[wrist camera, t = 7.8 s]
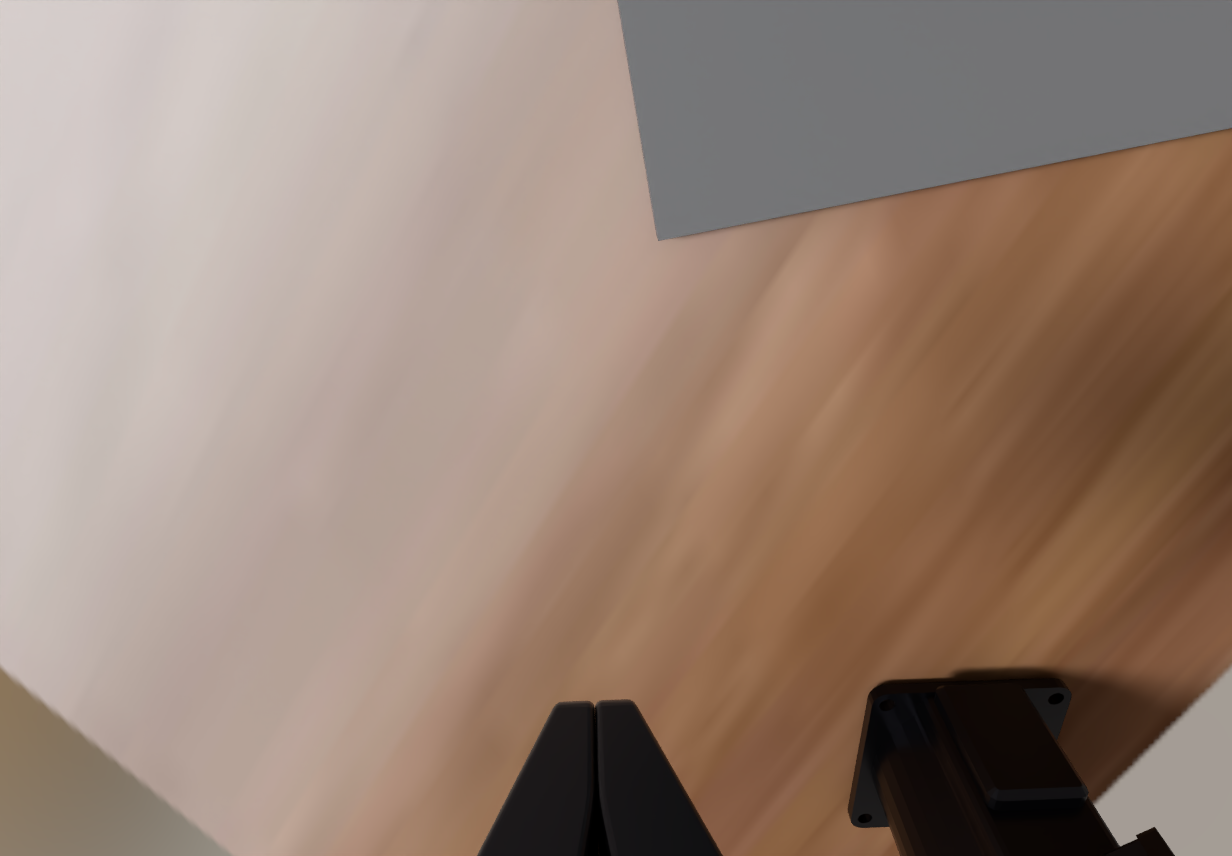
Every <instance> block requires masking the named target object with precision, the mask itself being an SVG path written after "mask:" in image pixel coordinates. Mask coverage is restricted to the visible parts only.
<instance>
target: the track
mask: <svg viewBox="0 0 1232 856" xmlns="http://www.w3.org/2000/svg"><path fill="white" fill-rule="evenodd" d="M618 6H619V12H620V18H621V24H622V30H623V36H624V42H625V48H626V54H627V60H628V66H629V72H630V78H631V84H632V90H633V96H634V102H635V108H636V114H637V120H638V126H639V132H640V138H641V144H642V150H643V156H644V162H645V168H646V174H647V180H648V186H649V192H650V198H651V204H652V210H653V216H654V222H655V228H656V234H657V238H658V241H660V240H665V239H670V238H675V237H680V236H686V235H691V234H696V233H701V232H706V231H711V230H716V229H721V228H726V227H731V226H736V225H741V224H746V223H752V222H757V221H762V220H767V219H772V218H777V217H782V216H787V215H792V214H797V213H802V212H807V211H812V210H818V209H823V208H828V207H833V206H838V205H843V204H848V203H853V202H858V201H863V200H868V199H873V198H878V197H884V196H889V195H894V194H899V193H904V192H909V191H914V190H919V189H924V188H929V187H934V186H939V185H944V184H950V183H955V182H960V181H965V180H970V179H975V178H980V177H985V176H990V175H995V174H1000V173H1005V172H1010V171H1016V170H1021V169H1026V168H1031V167H1036V166H1041V165H1046V164H1051V163H1056V162H1061V161H1066V160H1071V159H1077V158H1082V157H1087V156H1092V155H1097V154H1102V153H1107V152H1112V151H1117V150H1122V149H1127V148H1132V147H1137V146H1143V145H1148V144H1153V143H1158V142H1163V141H1168V140H1173V139H1178V138H1183V137H1188V136H1193V135H1198V134H1203V133H1209V132H1214V131H1219V130H1224V129H1229V128H1232V0H618Z"/></svg>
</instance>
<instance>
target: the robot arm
mask: <svg viewBox="0 0 1232 856" xmlns="http://www.w3.org/2000/svg"><path fill="white" fill-rule="evenodd" d="M1071 695H1072V694H1071V692H1070V691H1069V689H1068V688H1067V686H1066V685H1065V683H1064V682H1063V681H1062V680H1060V679H1055V678H1049V679H1022V680H995V681H969V682H942V683H915V684H888V685H881V686H878V687H876V688H874V689H873V690H872V691H871V692H870V693H869V695H868V699H867V705H866V710H865V716H864V722H863V727H862V733H861V738H860V744H859V749H858V755H857V760H856V766H855V772H854V777H853V783H852V788H851V794H850V799H849V805H848V814H849V817H850V820H851V823H852V824H853V825H854V826H856V827H860V828H870V827H890V829H891V832H892V835H893V837H894V840H895V843H896V845H897V848H898V851H899V853H900V856H1175V855H1174V854H1173V852H1172V851H1171V850H1170V848H1169V847H1168V845H1167V844H1166V842H1165V841H1164V839H1163V838H1162V837H1161V835H1160V834H1159V832H1158V831H1157V829H1156V828H1155V827H1153V828H1151V829H1149V830H1147V831H1144V832H1142V833H1140V834H1138V835H1136V836H1137V838H1138V839H1136V840H1134V841H1132V842H1130V843H1127V844H1125V845H1123V846H1119V845H1118V843H1117V841H1116V840H1115V838H1114V837H1113V835H1112V833H1111V832H1110V830H1109V829H1108V827H1107V826H1106V824H1105V822H1104V821H1103V819H1102V818H1101V816H1100V814H1099V813H1098V811H1097V810H1096V808H1095V807H1094V805H1093V803H1092V802H1091V800H1090V799H1089V797H1088V790H1087V787H1086V786H1085V784H1084V783H1083V781H1082V779H1081V778H1080V776H1079V775H1078V773H1077V772H1076V770H1075V768H1074V767H1073V765H1072V764H1071V762H1070V761H1069V759H1068V757H1067V756H1066V754H1065V753H1064V751H1063V750H1062V748H1061V746H1060V745H1059V743H1058V742H1057V739H1058V736H1059V733H1060V730H1061V727H1062V724H1063V721H1064V718H1065V715H1066V712H1067V709H1068V706H1069V703H1070V701H1071ZM884 700H887V701H884ZM595 732H596V733H595ZM477 856H723V855H722V854H721V852H720V850H719V848H718V847H717V845H716V843H715V841H714V840H713V838H712V836H711V834H710V833H709V831H708V829H707V827H706V826H705V824H704V822H703V820H702V819H701V817H700V815H699V813H698V812H697V810H696V808H695V806H694V805H693V803H692V801H691V799H690V798H689V796H688V794H687V793H686V791H685V789H684V787H683V786H682V784H681V782H680V780H679V779H678V777H677V775H676V773H675V772H674V770H673V768H672V766H671V765H670V763H669V761H668V759H667V758H666V756H665V754H664V752H663V751H662V749H661V747H660V745H659V744H658V742H657V740H656V738H655V737H654V735H653V733H652V731H651V730H650V728H649V726H648V724H647V723H646V721H645V719H644V718H643V716H642V714H641V712H640V711H639V709H638V707H637V706H636V704H635V703H634V702H633V701H631V700H628V699H624V700H601V701H599V702H597V704H596V706H595V708H594V705H593V703H592V702H590V701H573V702H559V703H558V704H556V705H555V707H554V708H553V709H552V711H551V713H550V715H549V717H548V719H547V721H546V723H545V725H544V727H543V729H542V731H541V733H540V734H539V736H538V738H537V740H536V742H535V744H534V746H533V748H532V750H531V752H530V754H529V756H528V758H527V760H526V762H525V764H524V766H523V767H522V769H521V771H520V773H519V775H518V777H517V779H516V781H515V783H514V785H513V787H512V789H511V791H510V793H509V795H508V797H507V799H506V800H505V802H504V804H503V806H502V808H501V810H500V812H499V814H498V816H497V818H496V820H495V822H494V824H493V826H492V828H491V830H490V832H489V833H488V835H487V837H486V839H485V841H484V843H483V845H482V847H481V849H480V851H479V853H478V855H477Z"/></svg>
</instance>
